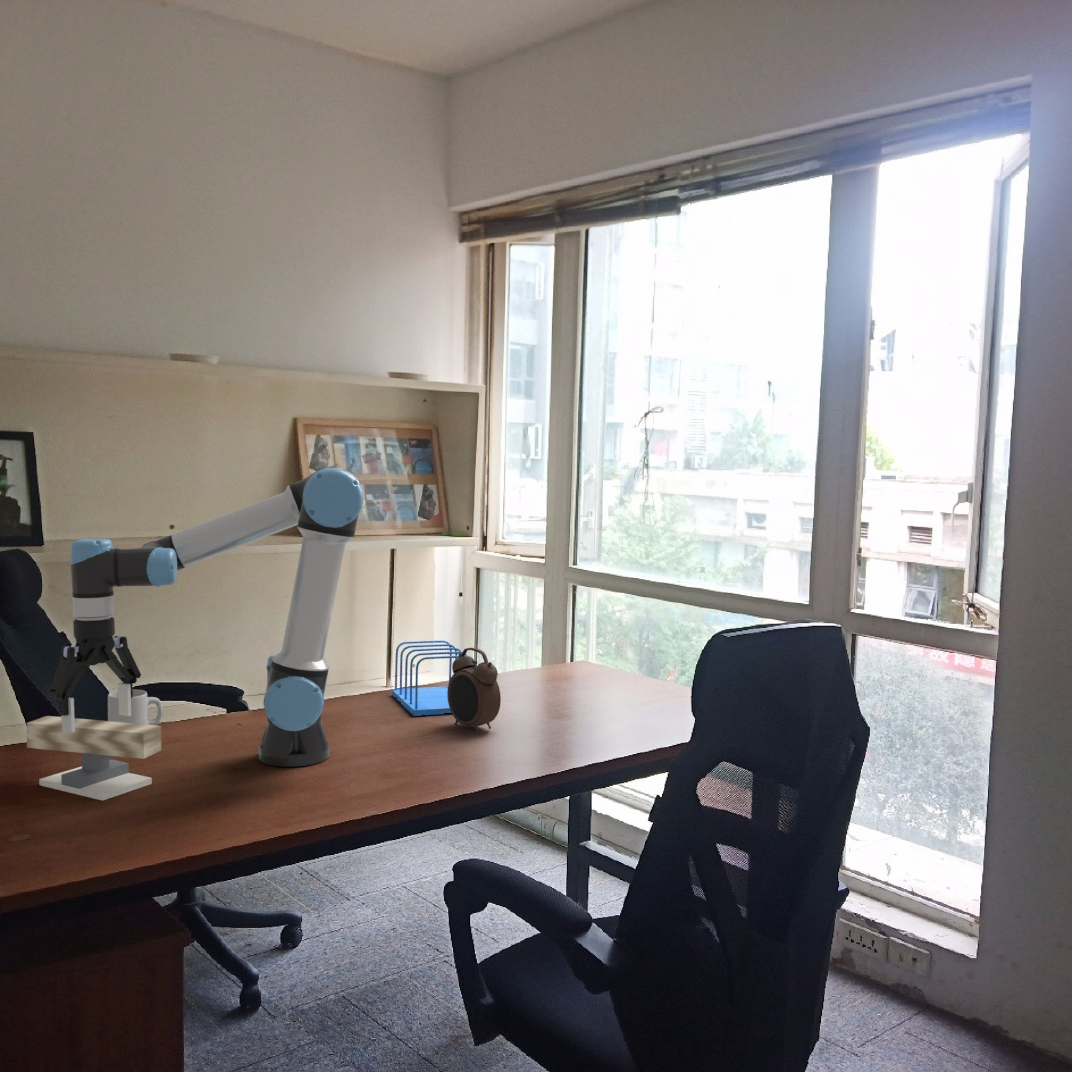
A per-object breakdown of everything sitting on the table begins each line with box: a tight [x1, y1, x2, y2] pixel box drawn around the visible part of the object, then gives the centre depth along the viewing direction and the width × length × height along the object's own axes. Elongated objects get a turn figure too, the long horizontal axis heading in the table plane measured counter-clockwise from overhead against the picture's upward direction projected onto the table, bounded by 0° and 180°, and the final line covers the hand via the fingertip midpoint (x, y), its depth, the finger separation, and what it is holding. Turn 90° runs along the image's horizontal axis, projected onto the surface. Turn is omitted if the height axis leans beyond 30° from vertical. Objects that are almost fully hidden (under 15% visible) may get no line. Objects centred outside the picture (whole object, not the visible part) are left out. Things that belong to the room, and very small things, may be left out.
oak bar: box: [26, 715, 162, 760], centre depth 210 cm, size 26×6×5 cm, turn 77°
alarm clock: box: [447, 647, 502, 734], centre depth 258 cm, size 15×7×20 cm, turn 43°
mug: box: [107, 689, 163, 725], centre depth 243 cm, size 12×8×11 cm
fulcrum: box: [38, 753, 153, 801], centre depth 211 cm, size 18×12×7 cm, turn 62°
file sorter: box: [391, 639, 476, 717], centre depth 283 cm, size 25×17×15 cm
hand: (97, 723), depth 210 cm, fingers open, 13 cm apart
